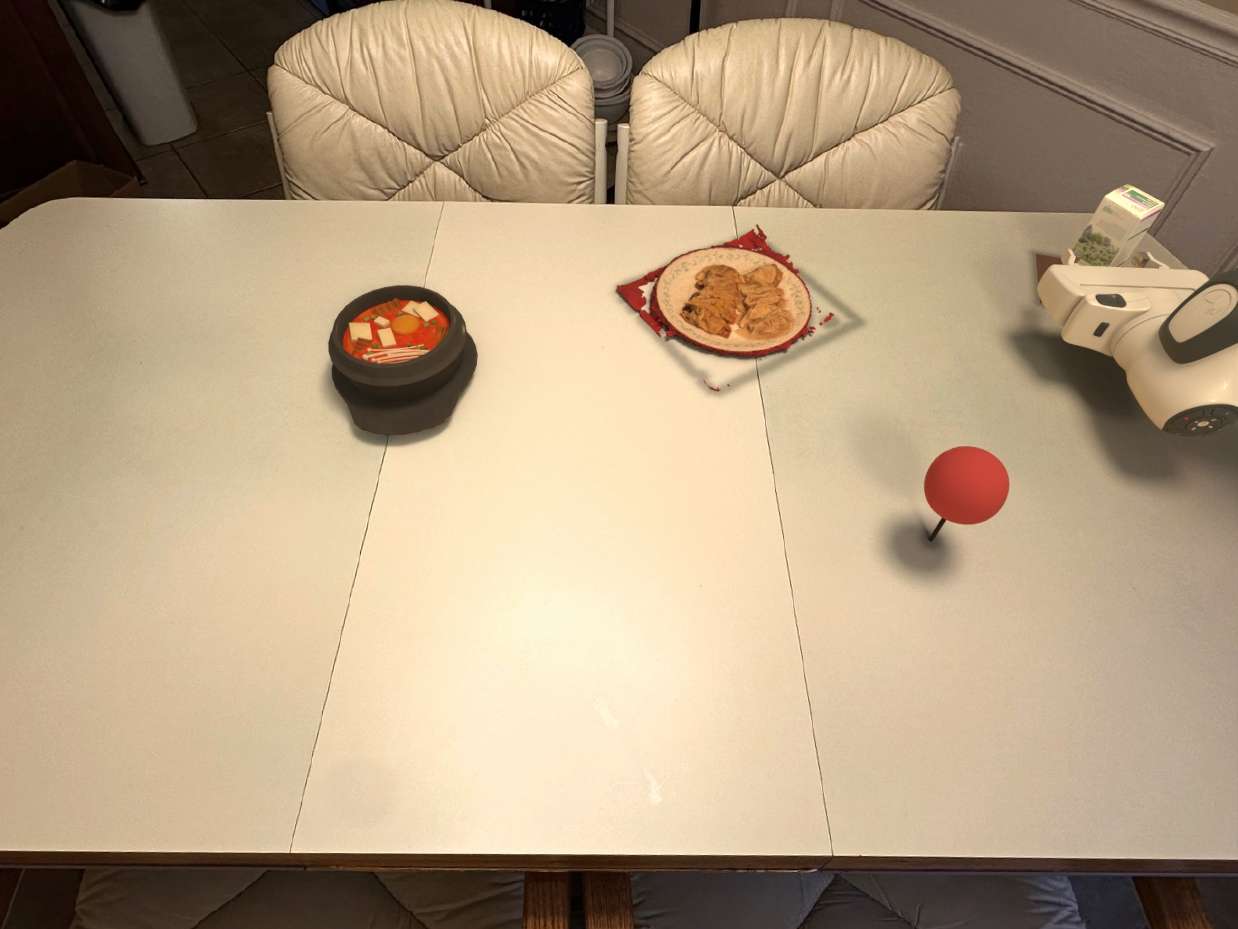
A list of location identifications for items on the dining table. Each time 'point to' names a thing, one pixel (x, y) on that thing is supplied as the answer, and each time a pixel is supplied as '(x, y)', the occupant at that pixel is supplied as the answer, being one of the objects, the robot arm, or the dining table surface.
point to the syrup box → (1117, 227)
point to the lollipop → (965, 486)
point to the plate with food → (728, 298)
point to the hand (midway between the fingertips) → (1104, 254)
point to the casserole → (400, 359)
